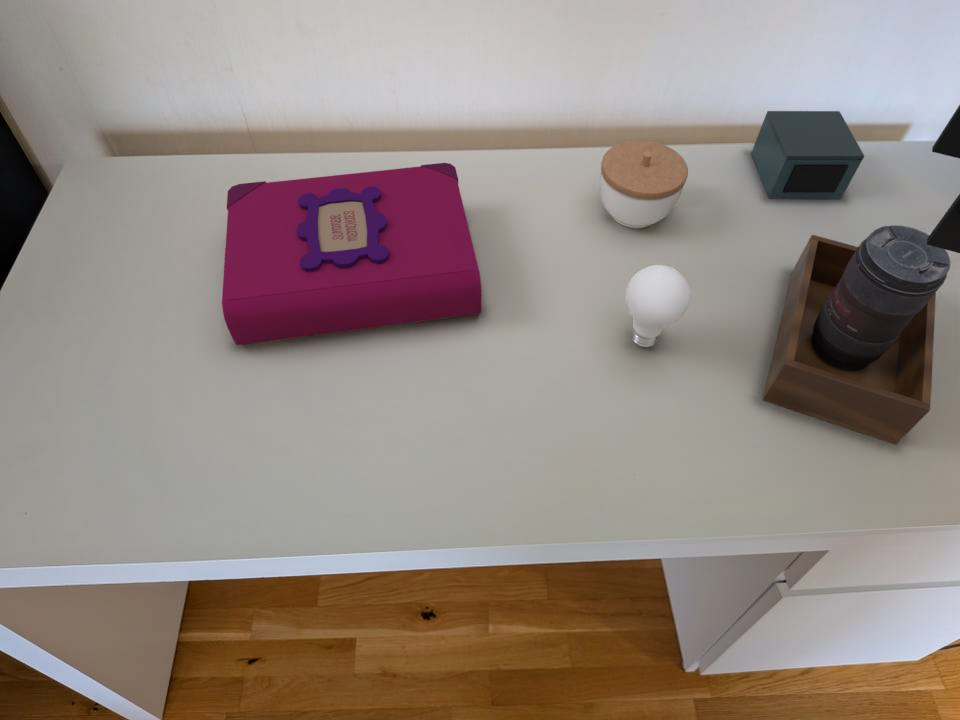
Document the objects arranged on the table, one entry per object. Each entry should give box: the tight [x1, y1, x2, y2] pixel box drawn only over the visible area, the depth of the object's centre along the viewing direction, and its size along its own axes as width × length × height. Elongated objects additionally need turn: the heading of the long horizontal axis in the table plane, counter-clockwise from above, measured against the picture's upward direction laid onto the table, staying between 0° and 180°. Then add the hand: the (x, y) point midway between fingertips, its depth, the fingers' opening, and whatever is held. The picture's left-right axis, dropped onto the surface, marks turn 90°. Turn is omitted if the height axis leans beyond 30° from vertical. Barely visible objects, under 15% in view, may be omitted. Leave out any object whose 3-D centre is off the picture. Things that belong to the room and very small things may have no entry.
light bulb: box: [625, 264, 691, 348], centre depth 73 cm, size 7×7×11 cm
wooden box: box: [762, 234, 937, 445], centre depth 75 cm, size 21×14×7 cm, turn 156°
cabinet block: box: [750, 110, 865, 200], centre depth 93 cm, size 10×10×7 cm
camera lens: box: [811, 224, 951, 371], centre depth 71 cm, size 8×8×15 cm
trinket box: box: [599, 139, 689, 229], centre depth 87 cm, size 11×11×9 cm
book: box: [221, 162, 482, 346], centre depth 81 cm, size 21×28×8 cm
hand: (945, 197), depth 59 cm, fingers open, 13 cm apart
